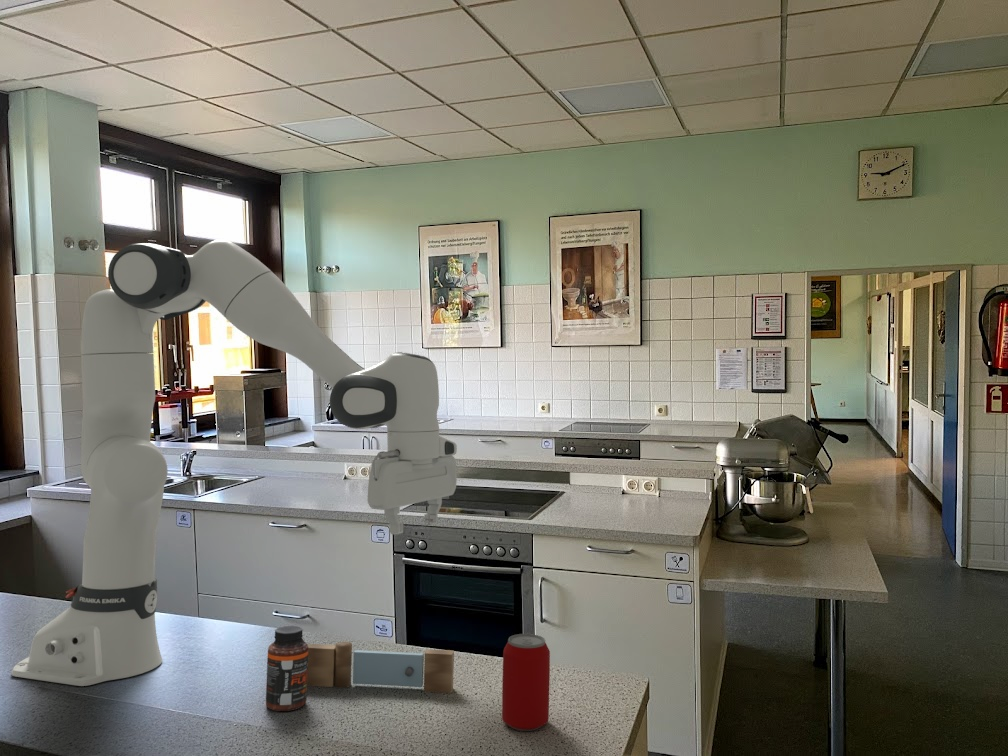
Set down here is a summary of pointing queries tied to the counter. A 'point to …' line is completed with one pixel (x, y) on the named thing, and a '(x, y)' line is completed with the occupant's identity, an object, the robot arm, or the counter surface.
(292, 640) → the supplement bottle
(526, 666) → the beverage can
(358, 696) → the counter surface
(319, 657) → the door frame
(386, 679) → the door
